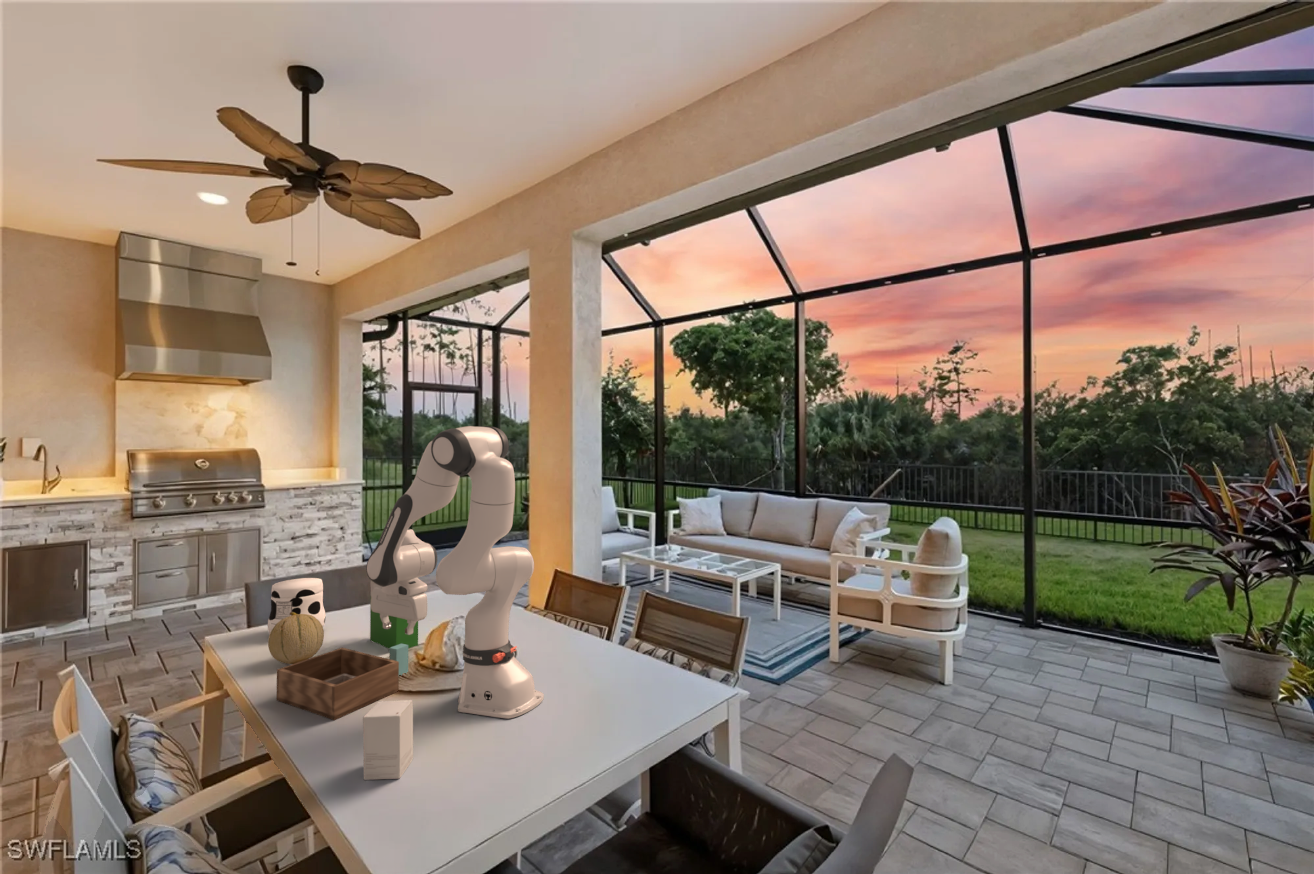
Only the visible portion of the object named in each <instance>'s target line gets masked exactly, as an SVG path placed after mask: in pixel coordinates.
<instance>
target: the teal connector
mask: <svg viewBox="0 0 1314 874" xmlns="http://www.w3.org/2000/svg"><path fill="white" fill-rule="evenodd" d="M388 659H390V660H394V661H398V662H399V675H401V676H403V675H402V674H403V673H406V674H408V673H409V648H408V645H406V644H402V643H401V644H399V645H396V646H393V647H390V649H389V658H388ZM407 672H408V673H407Z"/></svg>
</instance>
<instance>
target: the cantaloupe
mask: <svg viewBox="0 0 1314 874" xmlns="http://www.w3.org/2000/svg"><path fill="white" fill-rule="evenodd" d="M289 615H292V616H289V617H286V618H284V619H282V620H281V621H279V622H278V623H277V624H276V625H275V626H274V628H273V629H272V631H271V632H270V633H269V636H268V640H267V646H268V651H269V653H270V655H271V656H272V658H273V659H274V660H276V661H278V662H279V663H282V664H287V665H292V664H295V663H298V662H301V661H304V660H307V659H309V658H312V657H314V656H316V654H317V653H318V652H319V650H320V649H321V647H322V645H323V643H324V638H325V630H324V626H322V625H321V623H320V621H319V620H317V619H316V618H315V617H314V616H312V615H308V614H296V613H294V612H290V614H289Z"/></svg>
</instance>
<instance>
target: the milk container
mask: <svg viewBox="0 0 1314 874" xmlns="http://www.w3.org/2000/svg"><path fill="white" fill-rule="evenodd" d="M323 591H324V584H323V579H322V578H317V577H301V578H295V579H294V578H292V579H287V580H283V581H279V582H275V583H274V584H272V585H271V594H270V595H271V596H270V597H271V598H270V613H269V616H268V619H267V630H268V633H269V634H270V632H271V631H272V629H273V628H274V626H275V625H276V624H277V623H278V622H279V621H281V620H282V619H284V618H286V617H289V616H292V615H289V614H290V612H294V613H296V614H308V615H312V616H314V617H315V618H316V619H317V620H319V621H320V623H321V625H322V626H323V627H324V626H325V625H326V614H327V613H326V610H325V608H324V603H323V601H324V600H323V599H324V592H323Z"/></svg>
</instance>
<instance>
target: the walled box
mask: <svg viewBox="0 0 1314 874" xmlns="http://www.w3.org/2000/svg"><path fill="white" fill-rule="evenodd" d="M399 677H400V676H399V662H398V661H394V660H390V659H389V658H386V657H382V656H378V655H374V654H371V653H366V652H362V651H358V650H355V649H350V648H346V647H340V648H337V649H333V650H331V651H328V652H325V653H322V654H319V655H314V656H312V657H311V658H309V659H307V660H304V661H301V662H298V663H295V664H288V665H286V666H283V667H280V668H278V669H277V668H276V701H278V702H280V703H284V704H286V705H289V706H292V707H295V708H298V709H301V710H302V711H303V710H304V711H307V712H309V713H312V714H315V715H318V716H321V717H324V718H326V719H330V720H333V721H336V720H339V719H340V718H343V717H345V716H347V715H349V714H350V715H351V714H352V713H354V712H356V711H358V710H361V709H362V708H365V707H367V706H370V705H371V704H374V703H377V702H379V701H382V700H383V699H385V698H386V697H387V698H388V697H389V696H391V695H393V694H396V693H398V692H399V691H398V690H399V688H400V687H399V686H400V685H399ZM397 691H398V692H397Z"/></svg>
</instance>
